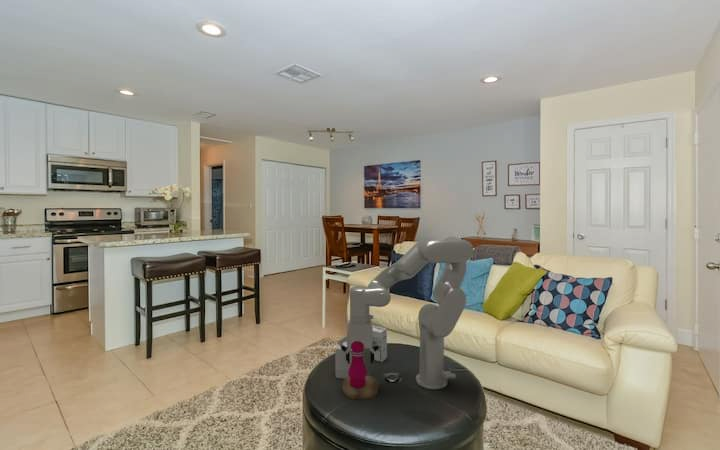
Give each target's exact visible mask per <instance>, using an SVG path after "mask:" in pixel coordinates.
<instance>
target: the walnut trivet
mask: <svg viewBox="0 0 720 450" xmlns="http://www.w3.org/2000/svg"><path fill="white" fill-rule="evenodd" d="M365 379H366V385H365V386H364V387H361V388H354V387H352V386H351V385H350V377H347V378H346V379H344V378H343V380H342V387H341V388H342V394H343V395H345V396H346V397H347V398H350V399H353V400H367V399H370V398H373V397H375V396H376V395H377V394H378V392H379V381H378V379H376V377H374V376H371V375H369V374H367V376H366V377H365Z"/></svg>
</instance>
